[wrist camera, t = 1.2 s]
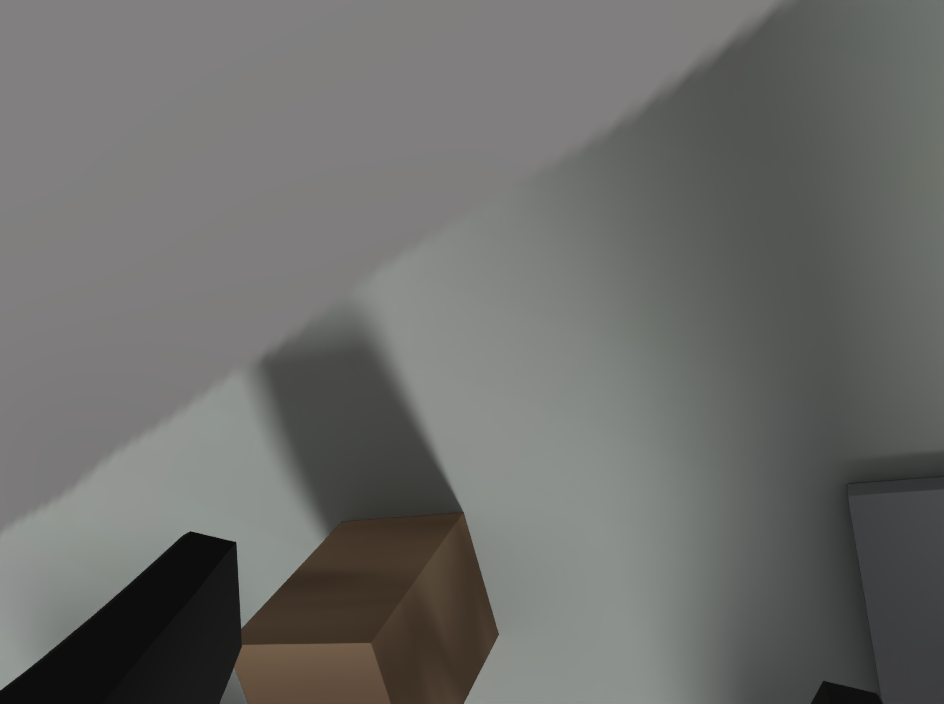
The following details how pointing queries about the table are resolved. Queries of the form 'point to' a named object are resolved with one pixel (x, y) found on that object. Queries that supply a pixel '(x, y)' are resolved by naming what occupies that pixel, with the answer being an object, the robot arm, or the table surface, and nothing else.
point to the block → (374, 619)
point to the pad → (903, 583)
